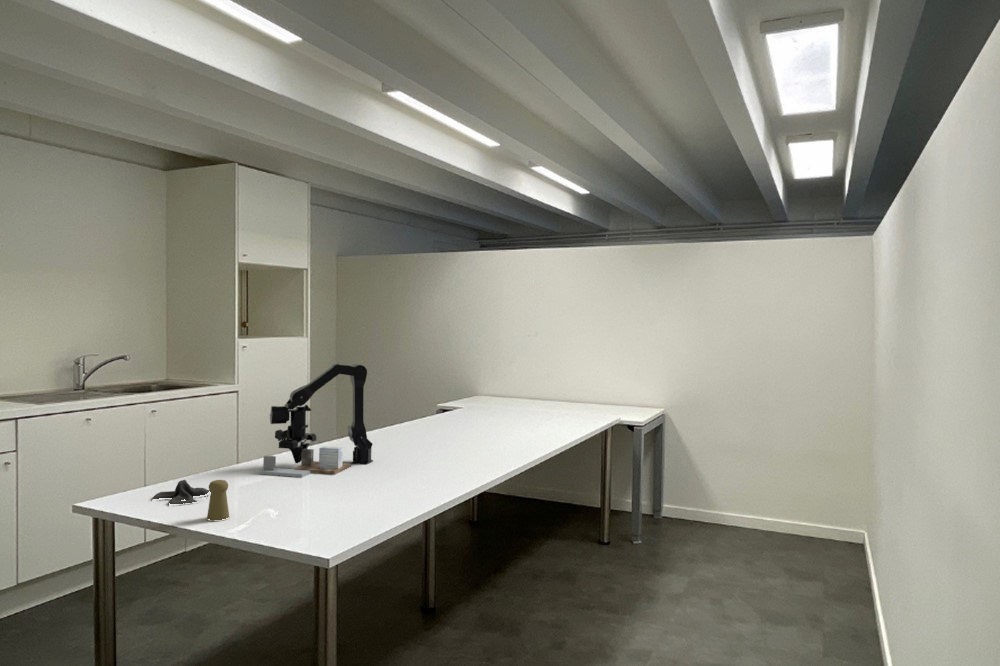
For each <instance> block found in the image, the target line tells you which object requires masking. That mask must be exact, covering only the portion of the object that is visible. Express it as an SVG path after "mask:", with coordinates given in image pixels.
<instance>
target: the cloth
mask: <svg viewBox="0 0 1000 666" xmlns="http://www.w3.org/2000/svg"><path fill="white" fill-rule="evenodd" d="M208 492H209V489H207V488H206V487H205V488H204V487H192V486H191V485H190V484H189V483H188V481H187V480H186V479H181V480H179V481H178V482H177V484H176V487H175V489H174V490H172V491H171V490H170V491H160V492H157V493H155V495H154V496H153V497H151V500H152V499H159V498H172V499H171V500H168V504H169V503H170V504H183V503H192V502H197V500H196V499H195V498H193V496H200V495H205V494H207V493H208ZM204 497H206V496H204ZM184 499H185V500H186V501H181V500H184Z"/></svg>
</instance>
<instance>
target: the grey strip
mask: <svg viewBox="0 0 1000 666" xmlns="http://www.w3.org/2000/svg"><path fill="white" fill-rule="evenodd" d="M276 457H277V456H276V455H264V456H263V468H262V470H260V472H259V474H260V475H263V474H267V475H266V476H276V475H280V476H279V477H289V476H291V478H292V477H293V478H304V477H306V475H307V476H309V475H310V474H311V473H310V471H307V470H294V469H289V468H280V467H276V460H277V459H276Z"/></svg>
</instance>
